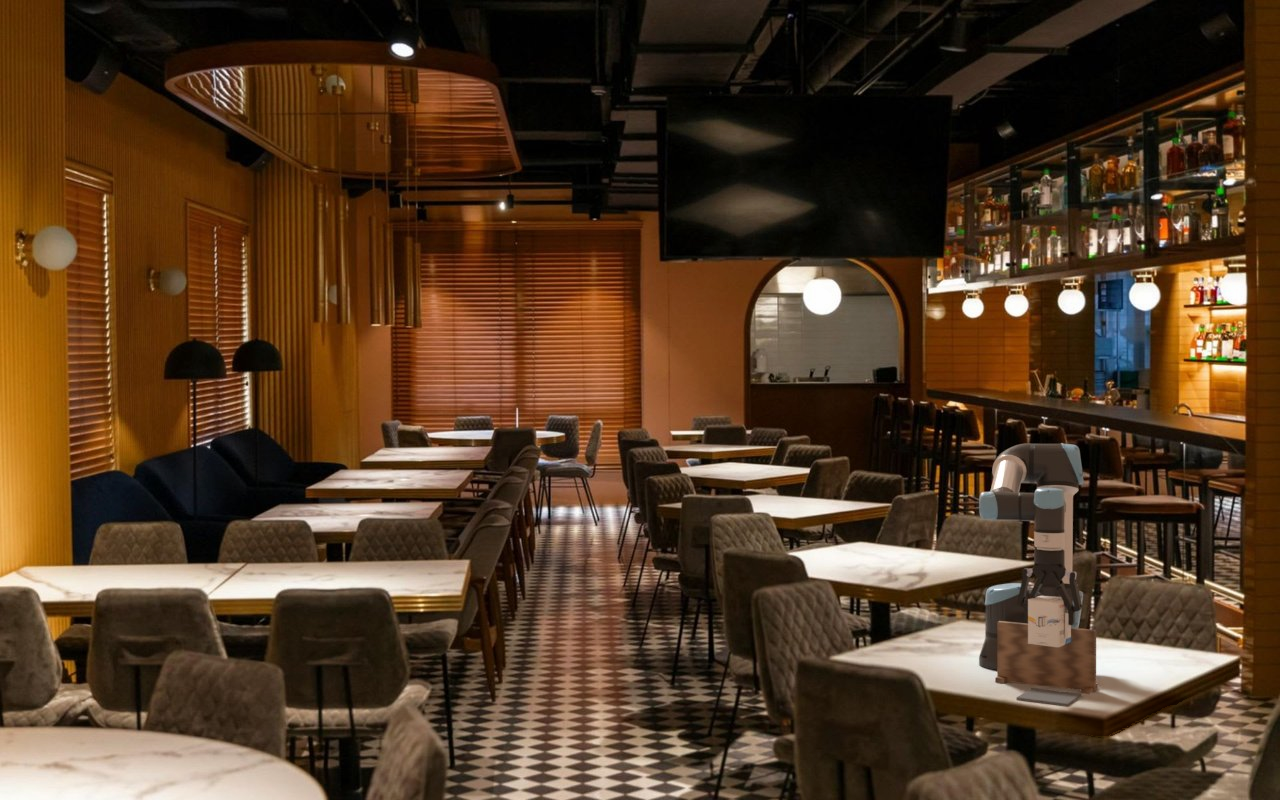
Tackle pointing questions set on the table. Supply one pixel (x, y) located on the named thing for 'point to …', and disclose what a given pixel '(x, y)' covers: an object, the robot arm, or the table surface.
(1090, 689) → the walnut screen
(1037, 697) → the rubber mat
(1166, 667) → the table surface
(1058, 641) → the ink box
